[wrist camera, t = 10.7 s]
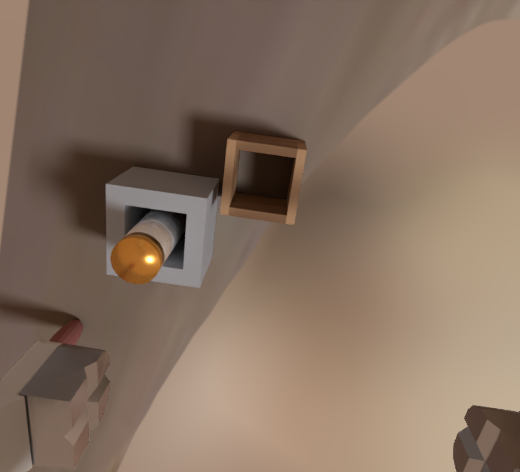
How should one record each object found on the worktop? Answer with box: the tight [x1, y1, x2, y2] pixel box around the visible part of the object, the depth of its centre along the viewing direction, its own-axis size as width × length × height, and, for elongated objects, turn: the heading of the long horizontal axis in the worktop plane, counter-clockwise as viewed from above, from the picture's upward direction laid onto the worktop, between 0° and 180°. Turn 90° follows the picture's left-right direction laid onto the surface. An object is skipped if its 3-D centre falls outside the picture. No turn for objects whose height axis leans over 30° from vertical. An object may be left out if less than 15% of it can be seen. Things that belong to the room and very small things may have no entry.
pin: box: [110, 209, 187, 284], centre depth 39 cm, size 4×4×12 cm
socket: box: [106, 166, 220, 288], centre depth 41 cm, size 9×9×7 cm
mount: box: [220, 131, 307, 225], centre depth 39 cm, size 7×7×5 cm
